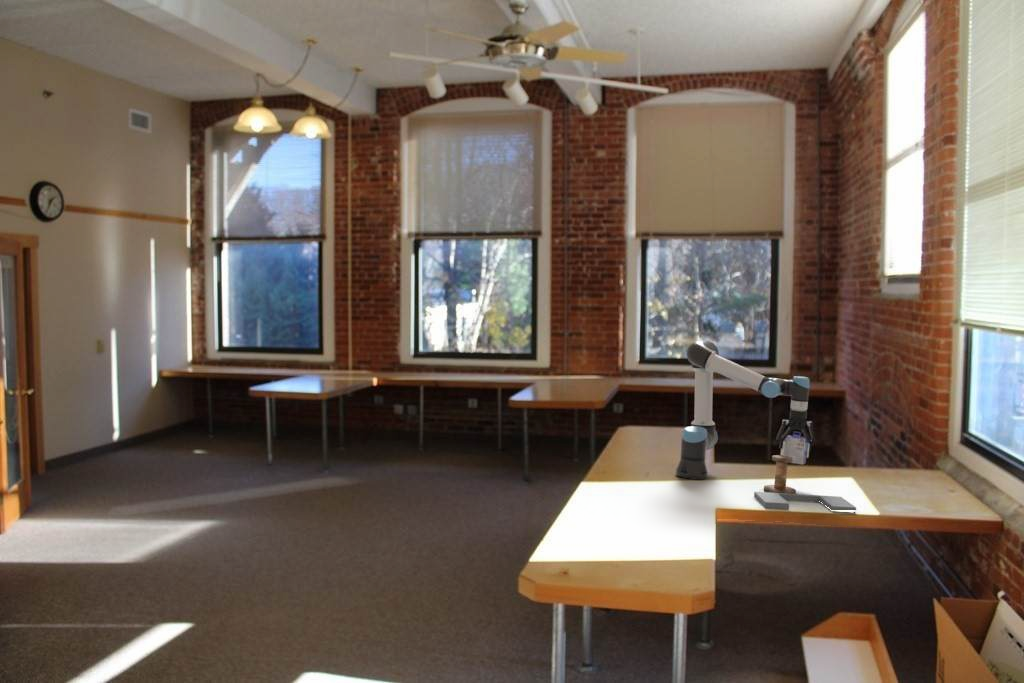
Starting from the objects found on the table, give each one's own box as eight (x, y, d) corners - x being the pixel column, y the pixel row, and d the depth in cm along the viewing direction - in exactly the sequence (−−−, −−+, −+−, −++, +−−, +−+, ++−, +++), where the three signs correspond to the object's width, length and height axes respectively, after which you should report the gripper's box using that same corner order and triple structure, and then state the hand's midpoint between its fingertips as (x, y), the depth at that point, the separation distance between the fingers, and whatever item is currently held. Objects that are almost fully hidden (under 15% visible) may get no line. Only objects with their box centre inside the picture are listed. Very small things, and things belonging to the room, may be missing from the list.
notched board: (765, 508, 366) (765, 502, 366) (753, 497, 384) (754, 491, 384) (855, 513, 366) (856, 507, 365) (840, 502, 384) (840, 496, 383)
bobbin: (768, 494, 390) (771, 459, 389) (760, 487, 404) (762, 453, 403) (799, 496, 390) (802, 461, 389) (790, 489, 404) (793, 455, 403)
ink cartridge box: (806, 463, 408) (808, 432, 407) (803, 465, 403) (806, 434, 402) (784, 459, 413) (787, 429, 412) (781, 461, 408) (784, 431, 407)
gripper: (776, 409, 402) (771, 456, 404) (826, 412, 402) (821, 459, 404) (771, 406, 410) (767, 452, 412) (820, 410, 410) (816, 456, 412)
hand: (794, 456), depth 408 cm, fingers closed on ink cartridge box, 11 cm apart
